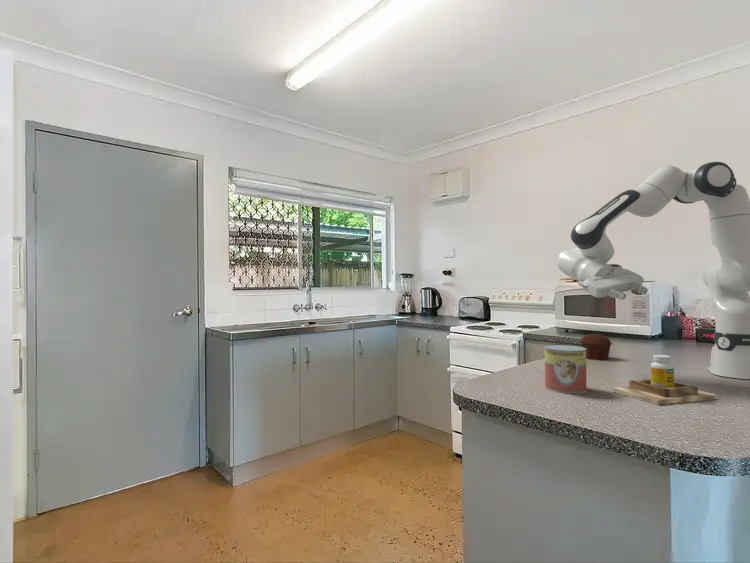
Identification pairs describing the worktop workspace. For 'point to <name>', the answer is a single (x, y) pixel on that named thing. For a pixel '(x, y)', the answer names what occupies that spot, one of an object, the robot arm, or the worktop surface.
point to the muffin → (596, 346)
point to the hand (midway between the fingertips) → (635, 294)
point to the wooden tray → (663, 392)
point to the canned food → (565, 368)
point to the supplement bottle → (662, 371)
